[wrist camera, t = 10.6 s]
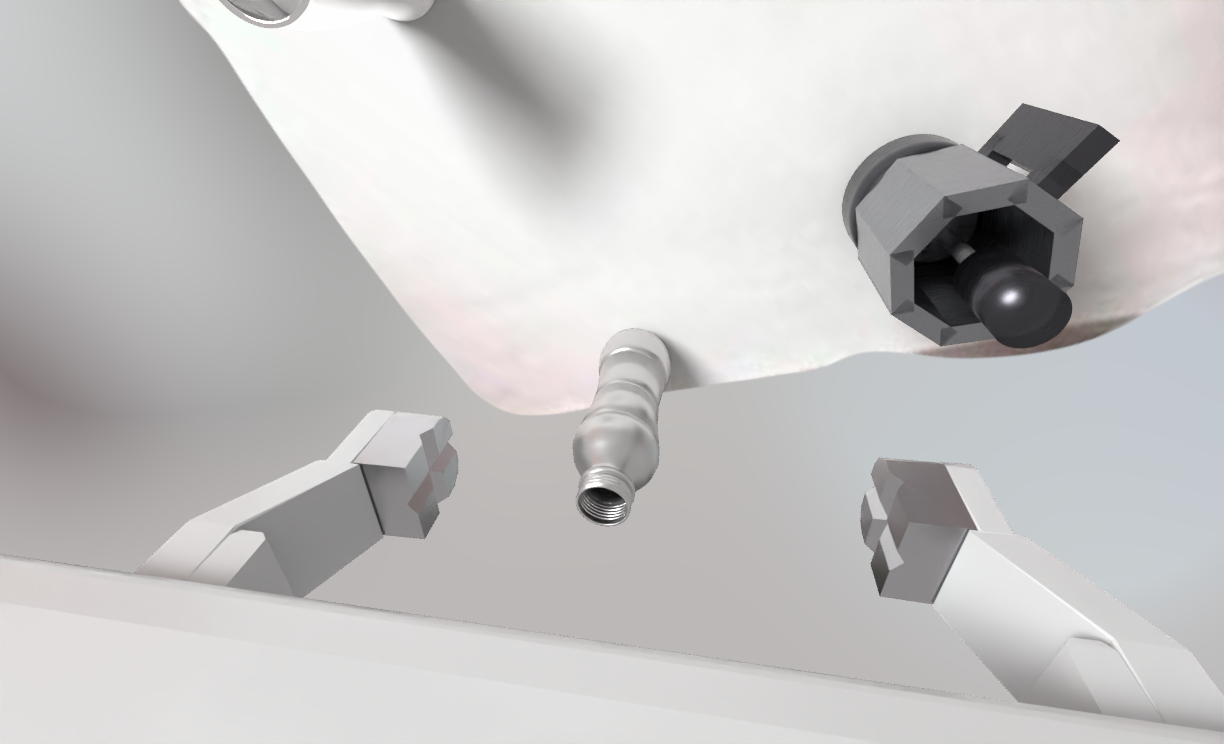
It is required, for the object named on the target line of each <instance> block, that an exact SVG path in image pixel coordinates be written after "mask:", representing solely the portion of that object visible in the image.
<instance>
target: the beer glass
mask: <svg viewBox="0 0 1224 744" xmlns="http://www.w3.org/2000/svg"><path fill="white" fill-rule="evenodd" d="M219 1H220V2H221V3H222V4H223V5H224V6H225V7H226V8H227V9H229V10H230V11H231V12H232V13H234V14H235V15H236V16H238V17H239V18H241V19H243V20H244V21H246V22H248V23H251V24H253V25H256V26H259V27H264V28H281V29H288V30H297V31H317V32H323V31H333V30H341V29H345V28H349V27H352V26H355V25H358V24H361V23H363V22H365V21H367V20H370V19H372V18H374V17H376V16H378V15H383V16H385V17H388V18H390V19H393V20H397V21H412V20H415V19H418V18H420V17H421V16H423V15H424V14H425V13H426V12H427V11H428V10H429V9H430V8H431V6H432V4H433V3H434V0H219Z"/></svg>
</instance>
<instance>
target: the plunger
mask: <svg viewBox="0 0 1224 744" xmlns="http://www.w3.org/2000/svg"><path fill="white" fill-rule="evenodd" d="M977 220H978V212H976V213H971V214H966V215H961V216H956V217H954V218H953V219H952V220H951V221H950V222H949V223H948V224H947V225H946V226H945V227H944V228H943V229H942V230H941V231H940V232H939V233H938V234H937V235H936V236H935V237H934V238H933V239H932V241H931V242H930V243H929V244H928V245H927V246H926V247H925V248H924V249H923V250H922V251H921V252H920V253H919V254H918V255H917V256H916V257H915V258H914V261H918V262H934V261H939V260H942V259H945V258H947V257H949V256H952V257H953V258H954V259H955V260H956V261H957V262H958V263H959V264H960V265H959V266H958V267H957V269H956V271H955V273H954V277H953V287H954V290H955V292H956V293H957V295H958V296H959V297H960V298H961V299H962V300H963V302H964V303H965V304H966V305H967V306H968V307H969V308H970V310H971V311H972V312H973V313H974V314H975V315H976V317H977V318H978V319H979V320H980V321H981V322H982V323H983V325H984V326H985V327H986V328H987V329H988V330H989V331H990V333H991V334H992V335H993V336H994V337H995V338H996V339H997V341H999V342H1000V343H1002V344H1003V345H1006V346H1008V347H1012V348H1029V347H1034V346H1037V345H1040V344H1043V343H1045V342H1047V341H1049V340H1050V339H1052V338H1053V337H1055V336H1056V335H1057V334H1059V333H1060V332H1061V331H1062V330H1063V329H1064V327H1065V326H1066V325H1067V323H1068V321H1069V319H1070V317H1071V313H1072V303H1071V300H1070V298H1069V296H1068V295H1067V294H1066V293H1065V292H1064V291H1062V290H1061V289H1060V288H1059V287H1057V286H1056V285H1055V284H1053V283H1052V282H1051V281H1050V280H1048V279H1047V278H1046V277H1045V276H1043V275H1042V274H1041V273H1040V272H1038V271H1037V270H1036V269H1034V268H1033V267H1032V266H1031V265H1029V264H1028V263H1027V262H1026V261H1024V260H1023V259H1022V258H1021V257H1019V256H1018V255H1017V254H1015V253H1014V252H1013V251H1011V250H1010V249H1007V248H1004V247H987V248H983V249H980V250H978V251H975V250H974V249H973V248H972V247H971V246H970V245H968V244H967V242H968V241H969V239H970V238H971V236H972V235H973V233H974V231H975V228H976V225H977Z"/></svg>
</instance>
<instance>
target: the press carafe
mask: <svg viewBox="0 0 1224 744" xmlns="http://www.w3.org/2000/svg"><path fill="white" fill-rule="evenodd" d="M1119 141H1120V140H1118V139H1117V138H1116V137H1114V136H1113V135H1112V134H1111V133H1109V132H1108V131H1107V130H1105V129H1104V128H1103V127H1101V126H1100V125H1098V124H1095V123H1091V122H1087V121H1084V120H1080V119H1077V118H1073V117H1070V116H1066V115H1062V114H1059V113H1055V112H1052V111H1048V110H1045V109H1041V108H1038V107H1034V106H1030V105H1027V104H1022V105H1021V106H1020V107H1019V108H1018V109H1017V110H1016V111H1015V112H1014V113H1013V114H1012V115H1011V117H1010V118H1009V119H1008V120H1007V121H1006V122H1005V123H1004V124H1003V125H1002V126H1001V127H1000V128H999V130H998V131H997V132H996V133H995V134H994V135H993V136H992V137H991V138H990V139H989V140H988V141H987V143H986V144H985V145H984V146H983V147H982V148H981V149H980V150H979V151H978V152H976V151H974V150H972V149H971V148H969V147H967V146H965V145H963V144H961V145H959V144H957V143H955V142H953V141H951V140H949V139H946V138H944V137H941V136H936V135H929V134H918V135H911V136H906V137H902V138H899V139H896V140H894V141H892V142H889V143H887V144H886V145H884V146H882V147H880V148H879V149H877V150H876V151H875V152H873V153H872V154H871V155H870V156H868V157H867V158H866V159H865V160H864V161H863V162H862V163H861V165H860V166H859V167H858V168H857V170H856V171H855V172H854V174H853V175H852V177H851V179H850V181H849V183H848V185H847V188H846V190H845V194H844V197H843V204H842V215H843V221H844V225H845V228H846V230H847V232H848V234H849V236H850V237H851V239H852V241H853V242H854V244H855V246H856V247H857V249H858V257H859V258H858V259H859V261H860V262H861V264H862V266H863V268H864V269H865V271H866V273H867V274H868V276H869V278H870V279H871V281H872V283H873V285H874V286H875V288H876V290H877V291H878V293H879V295H880V296H881V298H882V300H883V302H884V303H885V305H886V307H887V308H888V310H889V312H890V314H891V315H893V316H894V317H896V318H898V319H899V320H901V321H902V322H904V323H905V324H907V325H908V326H910V327H912V328H913V329H915V330H916V331H918V332H919V333H921V334H923V335H924V336H926V337H927V338H929V339H930V340H932V341H934V342H935V343H937V344H938V345H940V346H946V345H953V344H960V343H967V342H974V341H981V340H988V339H995V337H994V336H993V335H992V334H991V333H990V331H989V330H988V329H987V328H986V327H985V326H984V325H983V323H982V322H981V321H980V320H979V319H978V318H977V317H976V315H975V314H974V313H973V312H972V311H971V310H970V308H969V307H968V306H967V305H966V304H965V303H964V302H963V300H962V299H961V298H960V297H959V296H958V295H957V293H956V292H955V290H954V287H953V277H954V273H955V271H956V269H957V267H958V266H959V265H960V264H959V263H958V262H957V261H956V260H955V259H954V258H953V257H952V256H949V257H947V258H945V259H942V260H939V261H934V262H918V261H914V258H915V257H916V256H917V255H918V254H919V253H920V252H921V251H922V250H923V249H924V248H925V247H926V246H927V245H928V244H929V243H930V242H931V241H932V239H933V238H934V237H935V236H936V235H937V234H938V233H939V232H940V231H941V230H942V229H943V228H944V227H945V226H946V225H947V224H948V223H949V222H950V221H951V220H952V219H953V218H954V217H956V216H961V215H966V214H971V213H976V212H978V220H977V225H976V228H975V231H974V233H973V235H972V236H971V238H970V239H969V241H968V242H967V244H968V245H970V246H971V247H972V248H973V249H974V250H975V251H978V250H980V249H983V248H987V247H1004V248H1007V249H1010V250H1011V251H1013V252H1014V253H1015V254H1017V255H1018V256H1019V257H1021V258H1022V259H1023V260H1024V261H1026V262H1027V263H1028V264H1029V265H1031V266H1032V267H1033V268H1034V269H1036V270H1037V271H1038V272H1040V273H1041V274H1042V275H1043V276H1045V277H1046V278H1047V279H1048V280H1050V281H1051V282H1052V283H1053V284H1055V285H1056V286H1057V287H1059V288H1060V289H1061V290H1062V291H1064V292H1066V291H1067V290H1069V289H1070V288H1071V287H1072V286H1073V285H1074V278H1075V271H1076V265H1077V258H1078V251H1079V244H1080V238H1081V231H1082V224H1083V217H1081V216H1079V215H1078V214H1076V213H1075V212H1074V211H1072V210H1071V209H1069V208H1068V207H1067V206H1065V205H1064V204H1062V203H1061V202H1060V201H1058V199H1059V198H1060V197H1061V196H1062V195H1063V194H1064V193H1065V192H1066V191H1067V190H1068V189H1069V188H1070V187H1071V186H1072V185H1074V184H1075V183H1076V182H1077V181H1078V180H1079V179H1080V178H1081V177H1082V176H1083V175H1084V174H1085V173H1086V172H1087V171H1088V170H1089V169H1091V168H1092V167H1093V166H1094V165H1095V164H1096V163H1097V162H1098V161H1099V160H1100V159H1101V158H1102V157H1103V156H1104V155H1105V154H1106V153H1108V152H1109V151H1110V150H1111V149H1112V148H1113V147H1114V146H1115V145H1116V144H1117V143H1118V142H1119ZM1009 163H1012V164H1014V165H1016V166H1018V167H1020V168H1022V169H1024V170H1026V171H1028V172H1030V174H1029V175H1028V176H1027V177H1025V176H1023V175H1021V174H1019V173H1017V172H1015V171H1013V170H1011V169H1009V168H1007V167H1006V166H1007V165H1008V164H1009Z"/></svg>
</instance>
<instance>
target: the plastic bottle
mask: <svg viewBox="0 0 1224 744" xmlns="http://www.w3.org/2000/svg"><path fill="white" fill-rule="evenodd" d="M670 372H671V364H670V358H669V354H668V351H667V348H666V346H665V345H664V343H663V342H662V341H661V340H660V339H659V338H658V337H657V336H655V335H654V334H652V333H650V332H648V331H646V330H641V329H626V330H623V331H620V332H618V333H616V334H615V335H614V336H612V337H611V338H610V340H609V341H608V342H607V344H606V345H605V347H604V348H603V350H602V352H601V355H600V363H599V382H598V388H597V393H596V395H595V397H594V400H593V403H592V405H591V407H590V409H589V411H588V413H587V414H586V416H585V418H584V420H583V421H582V423H581V425H580V427H579V428H578V431H577V433H576V435H575V438H574V440H573V456H574V463H575V465H576V468H577V470H578V472H579V474H580V475H581V479H580V481H579V490H578V493H577V497H576V506H577V509H578V511H579V512H580V514H581V515H582V516H583V517H584V518H586V519H587V520H589V521H590V522H592V523H595V524H597V525H601V526H615V525H618V524H621V523H622V522H624V521H625V520H626V519H627V517H628V516H629V513H630V510H631V504H632V503H633V501H634V496H635V492H636V491H637V490H639V489H641V488H642V487H643V486H645V485H646V484H647V483H648V482H649V481H650V480H651V478H652V476H653V475H654V473H655V471H656V469H657V468H658V463H659V440H658V428H657V424H658V406H659V403H660V400H661V396H662V393H663V391H664V389H665V387H666V385H667V382H668V380H669V377H670Z"/></svg>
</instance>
